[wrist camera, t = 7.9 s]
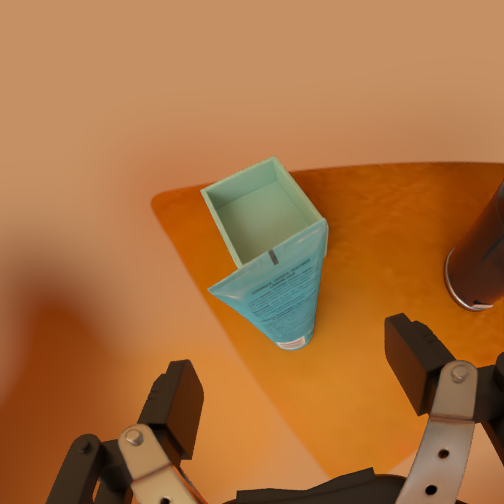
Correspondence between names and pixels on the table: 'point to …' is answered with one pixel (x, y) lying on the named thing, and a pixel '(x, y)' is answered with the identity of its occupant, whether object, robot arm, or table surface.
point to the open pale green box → (259, 209)
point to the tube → (280, 288)
